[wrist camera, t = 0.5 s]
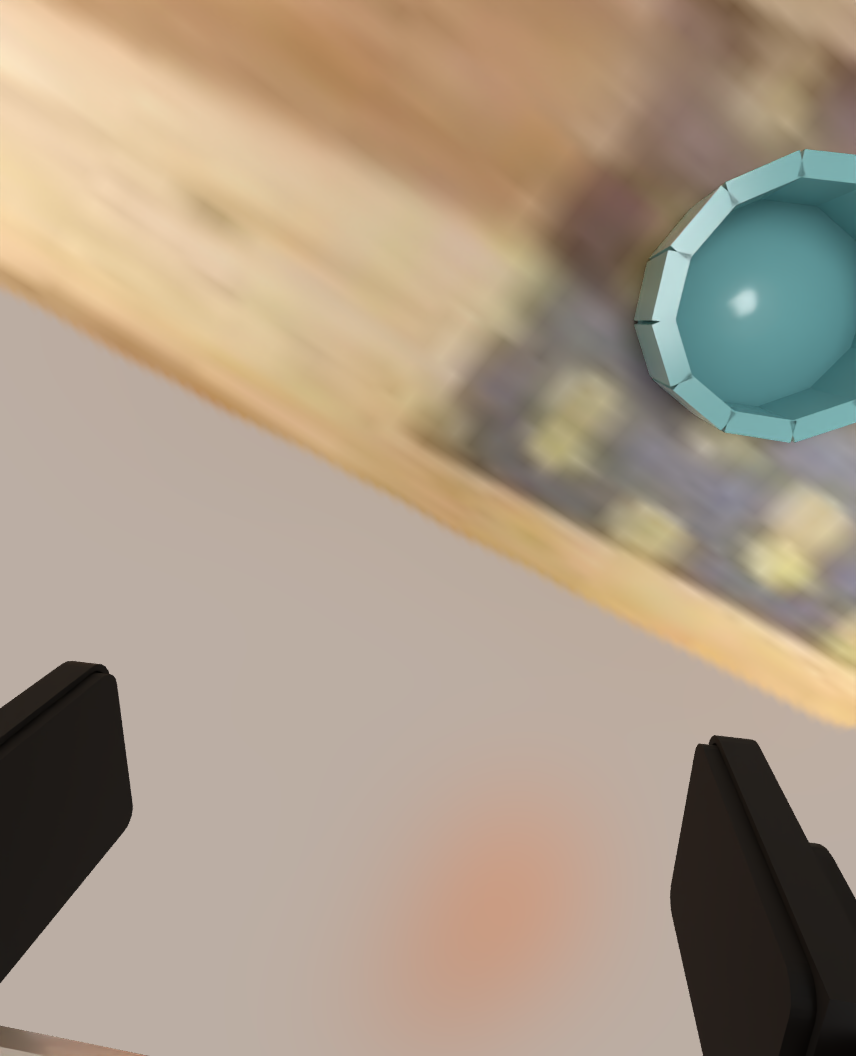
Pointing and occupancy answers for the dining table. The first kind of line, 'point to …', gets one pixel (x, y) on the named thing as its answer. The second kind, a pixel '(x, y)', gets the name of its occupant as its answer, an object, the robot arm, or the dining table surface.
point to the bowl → (760, 301)
